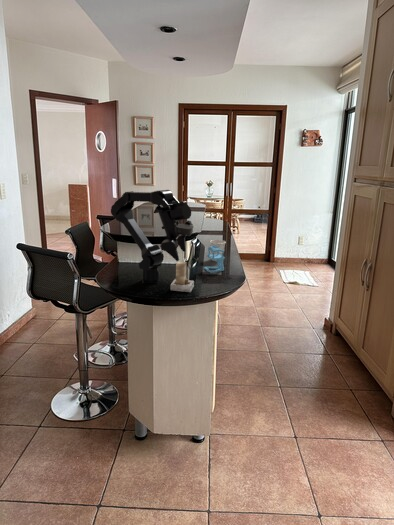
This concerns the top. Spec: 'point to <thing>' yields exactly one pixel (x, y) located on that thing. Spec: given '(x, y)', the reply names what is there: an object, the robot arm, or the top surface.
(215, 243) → the dixie cup
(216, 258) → the chair
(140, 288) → the top surface
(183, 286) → the socket plate
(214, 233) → the top surface
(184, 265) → the keyed post
